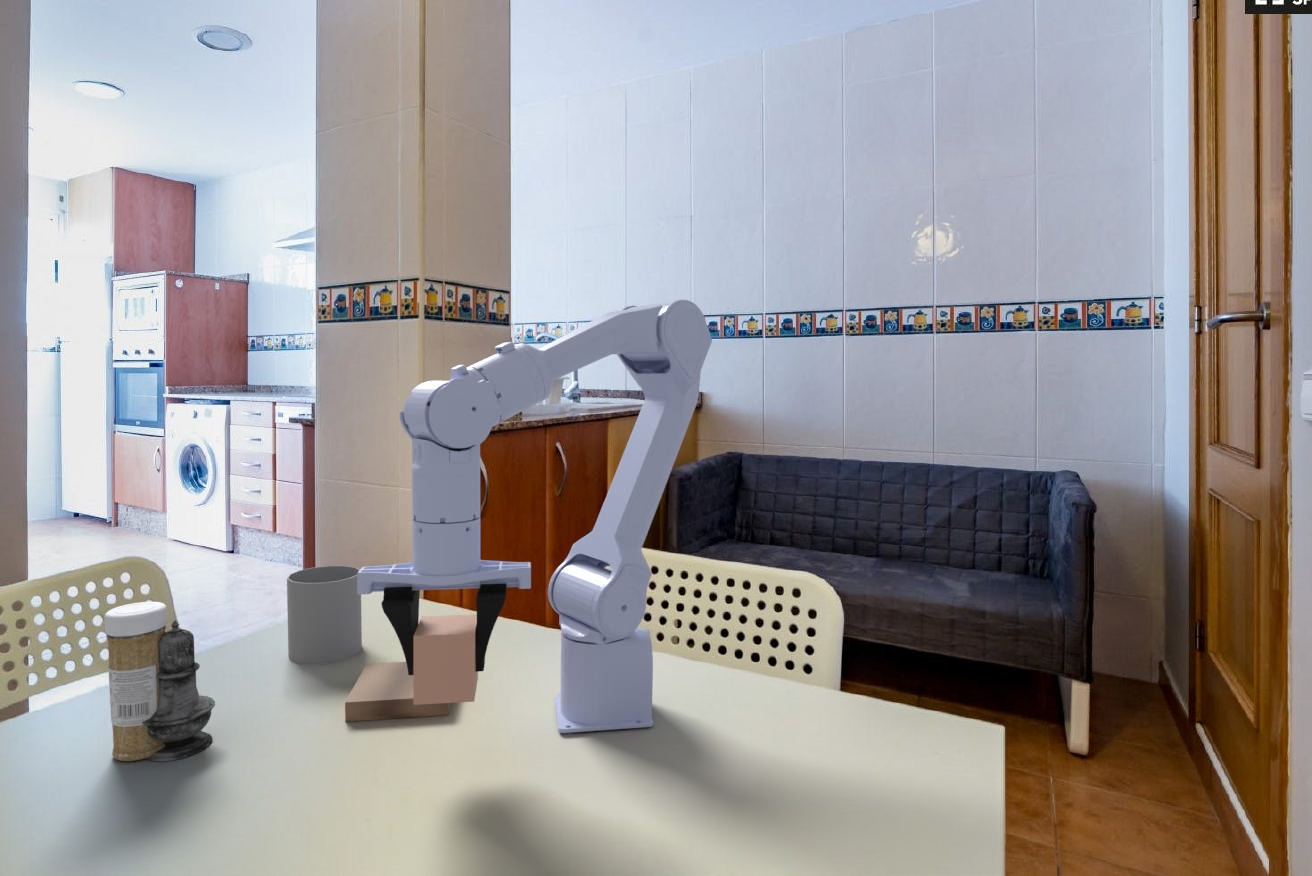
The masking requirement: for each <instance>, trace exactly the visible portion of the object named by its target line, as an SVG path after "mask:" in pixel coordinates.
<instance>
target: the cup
mask: <svg viewBox="0 0 1312 876" xmlns="http://www.w3.org/2000/svg"><path fill="white" fill-rule="evenodd" d="M359 570H360V568H357V567H356V566H348V565H323V566H316V567H310V568H305V569H301V570H296V571H295V572H293V573H290V574H288V576H287V578H286V594H287V595H286V596H287V597H286V603H287V605H286V606H287V638H288V639H287V644H288V645H287V646H288V648H287V650H288V651H287V653H288V658H289V659H290V661H291V662H292V663H296V664H301V665H306V666H307V665H308V666H309V665H311V666H312V665H326V664H331V663H332V664H333V663H337V662H341V661H343V660H347V659H349V658H353V657H354V656H355V654H356V655H357V654H359V653H360V652H361V649H362V647H363V643H362V641H363V639H362V638H363V637H362V635H363V634H362V633H363V632H362V594H360V595H358V594H357V573H358V572H359ZM358 652H359V653H358Z"/></svg>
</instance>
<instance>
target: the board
mask: <svg viewBox="0 0 1312 876" xmlns="http://www.w3.org/2000/svg"><path fill="white" fill-rule="evenodd" d="M451 704H452V703H439V704H420V705H414V675H408V668H407V663H406V661H397V662H396V661H394V662H393V661H392V662H375V663H374V662H373V663H366V664H365V667H364V668H363V670H362V672H361V674H360V675H359V677H358V679H357V680H356V683H355V685H354V686H353V688H352V689H351V691H350V692H349V695H348V697H347V698H346V700H345V702H344V709H345V710H344V714H345V715H344V718H345V720H344V721H345V722H346V723H347V722H359V721H360V722H361V721H375V720H391V719H392V720H393V719H406V718H408V719H409V718H420V717H421V718H423V717H437V716H438V717H439V716H448V715H449V714H450V713H449V712H450V709H451Z"/></svg>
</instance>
